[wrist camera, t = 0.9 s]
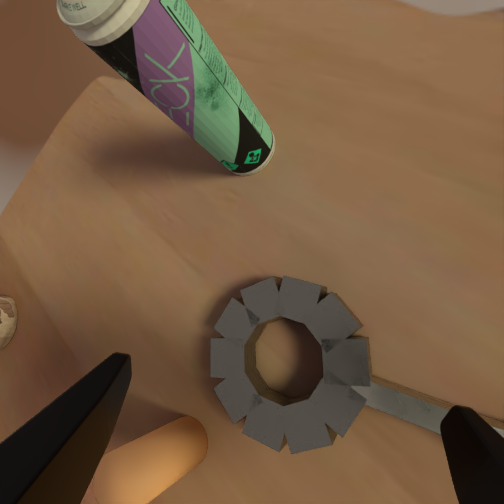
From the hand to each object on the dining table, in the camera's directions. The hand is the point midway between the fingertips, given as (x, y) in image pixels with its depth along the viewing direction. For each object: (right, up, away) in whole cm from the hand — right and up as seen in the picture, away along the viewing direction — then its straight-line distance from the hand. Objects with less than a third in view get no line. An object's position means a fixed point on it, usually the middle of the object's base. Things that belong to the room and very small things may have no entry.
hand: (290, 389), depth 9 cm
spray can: (-1, +14, +22) cm, 26 cm away
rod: (-7, -13, +19) cm, 24 cm away
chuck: (+6, -6, +14) cm, 17 cm away
